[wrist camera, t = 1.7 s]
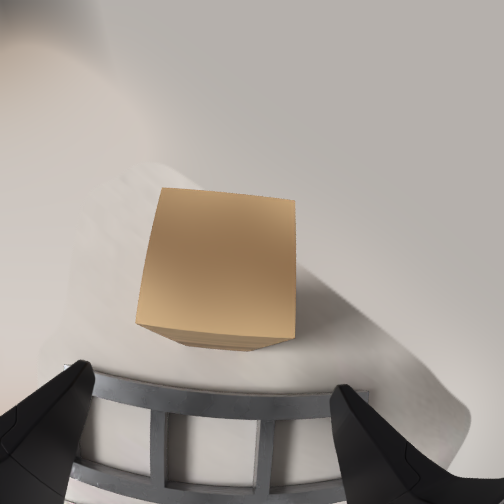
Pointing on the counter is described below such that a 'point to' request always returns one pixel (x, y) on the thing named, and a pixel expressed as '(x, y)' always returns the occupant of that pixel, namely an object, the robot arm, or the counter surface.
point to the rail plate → (216, 406)
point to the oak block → (220, 270)
